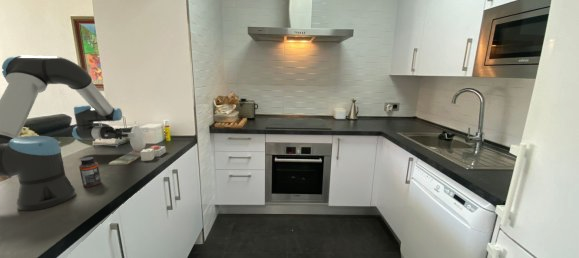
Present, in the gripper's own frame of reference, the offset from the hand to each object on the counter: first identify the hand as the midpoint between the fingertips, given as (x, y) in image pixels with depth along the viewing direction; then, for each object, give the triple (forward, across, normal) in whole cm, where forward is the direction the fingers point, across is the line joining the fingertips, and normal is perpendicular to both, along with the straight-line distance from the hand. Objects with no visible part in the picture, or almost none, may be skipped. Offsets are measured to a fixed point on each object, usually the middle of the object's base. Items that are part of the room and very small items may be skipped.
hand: (141, 132), depth 141 cm
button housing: (+8, +4, -12) cm, 15 cm away
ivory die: (+9, +12, -12) cm, 19 cm away
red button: (+9, +4, -11) cm, 14 cm away
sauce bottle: (-3, 0, -11) cm, 12 cm away
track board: (-2, +8, -12) cm, 15 cm away
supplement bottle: (+2, +43, -12) cm, 45 cm away
